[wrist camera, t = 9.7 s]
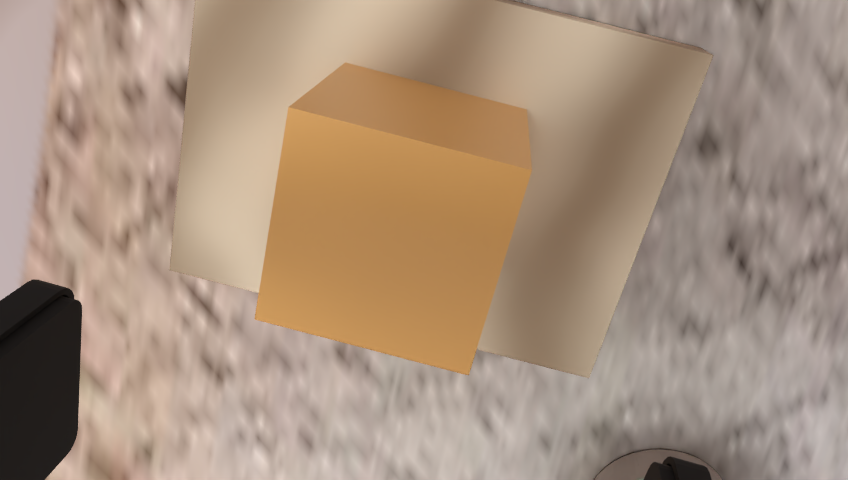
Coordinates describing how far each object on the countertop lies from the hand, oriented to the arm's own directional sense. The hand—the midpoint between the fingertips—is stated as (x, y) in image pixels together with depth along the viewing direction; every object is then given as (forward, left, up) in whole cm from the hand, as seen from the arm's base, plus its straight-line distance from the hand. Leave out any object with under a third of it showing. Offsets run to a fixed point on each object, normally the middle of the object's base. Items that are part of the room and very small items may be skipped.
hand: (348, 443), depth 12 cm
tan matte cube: (+1, 0, -14) cm, 14 cm away
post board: (+1, 0, -16) cm, 16 cm away
